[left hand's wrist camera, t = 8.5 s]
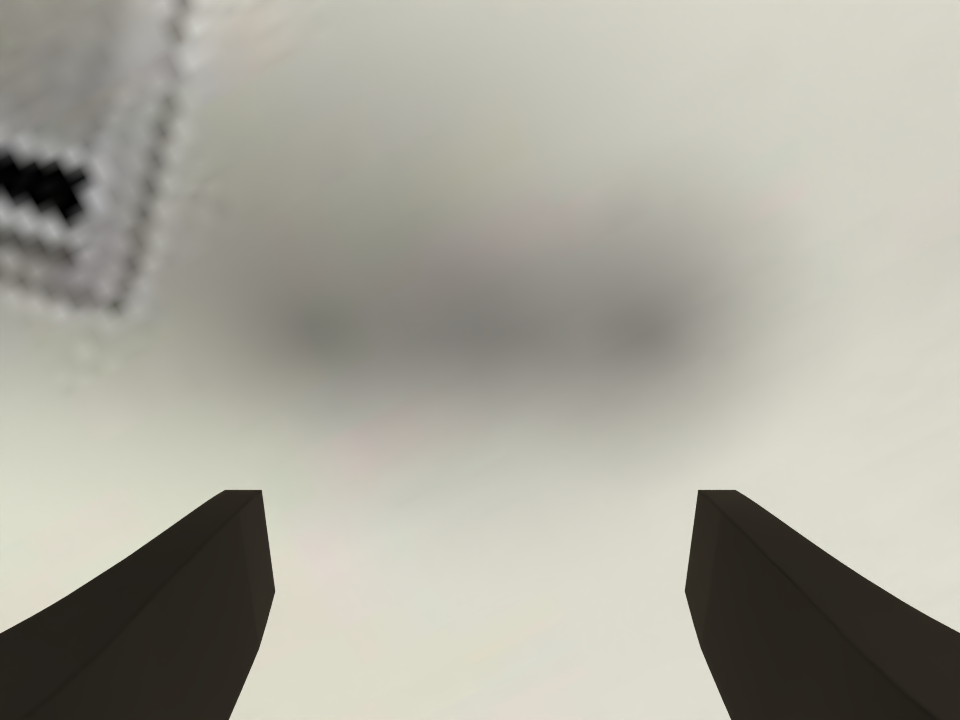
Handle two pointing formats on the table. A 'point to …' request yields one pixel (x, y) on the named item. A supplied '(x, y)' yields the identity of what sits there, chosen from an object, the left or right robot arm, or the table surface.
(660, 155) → the table surface
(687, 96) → the table surface
